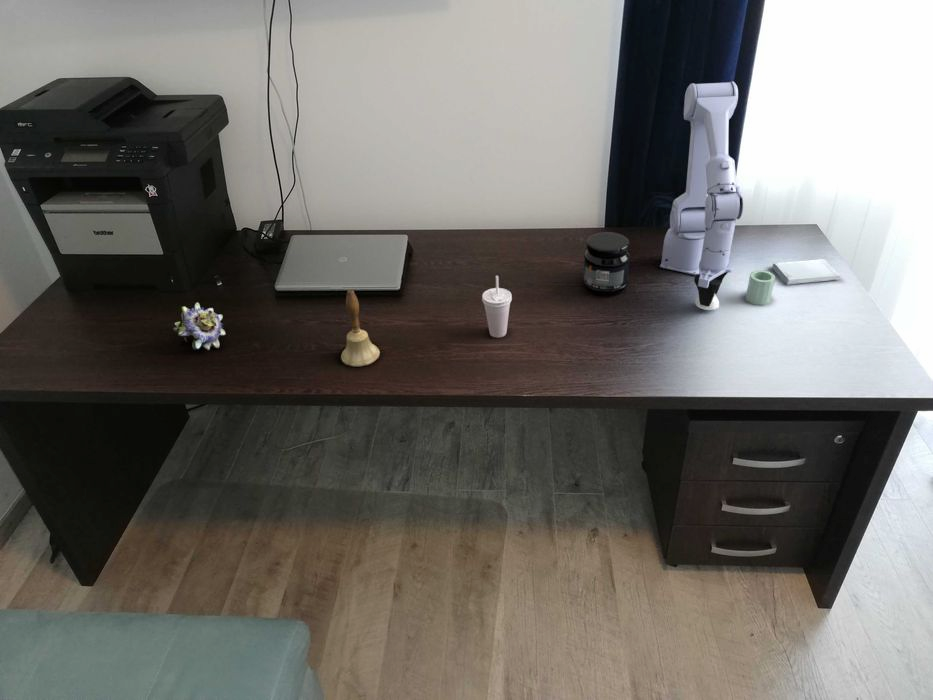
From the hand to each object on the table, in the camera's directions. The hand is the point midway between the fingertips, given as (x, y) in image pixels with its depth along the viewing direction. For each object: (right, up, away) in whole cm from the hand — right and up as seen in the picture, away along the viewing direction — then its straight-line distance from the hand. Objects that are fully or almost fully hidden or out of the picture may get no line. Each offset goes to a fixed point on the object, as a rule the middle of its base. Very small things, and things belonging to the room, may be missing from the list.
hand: (707, 300), depth 160 cm
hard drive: (+27, +7, +11) cm, 30 cm away
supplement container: (-21, +4, +11) cm, 24 cm away
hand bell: (-77, -13, -6) cm, 78 cm away
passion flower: (-113, -10, +1) cm, 114 cm away
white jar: (0, -1, +1) cm, 2 cm away
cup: (+13, 0, +3) cm, 13 cm away
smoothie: (-47, -8, -2) cm, 48 cm away
